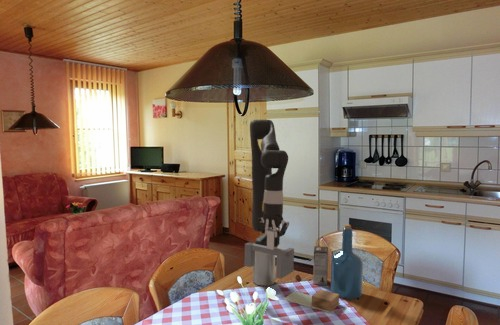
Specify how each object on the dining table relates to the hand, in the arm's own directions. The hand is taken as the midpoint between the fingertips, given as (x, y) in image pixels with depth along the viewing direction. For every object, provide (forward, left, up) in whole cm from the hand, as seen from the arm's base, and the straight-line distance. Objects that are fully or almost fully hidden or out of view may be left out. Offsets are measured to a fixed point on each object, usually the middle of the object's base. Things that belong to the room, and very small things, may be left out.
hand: (272, 245), depth 139 cm
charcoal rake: (-2, 0, -10) cm, 10 cm away
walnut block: (+18, +11, -23) cm, 31 cm away
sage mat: (+12, +11, -24) cm, 29 cm away
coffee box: (+6, +34, -24) cm, 42 cm away
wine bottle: (+20, +28, -24) cm, 42 cm away
